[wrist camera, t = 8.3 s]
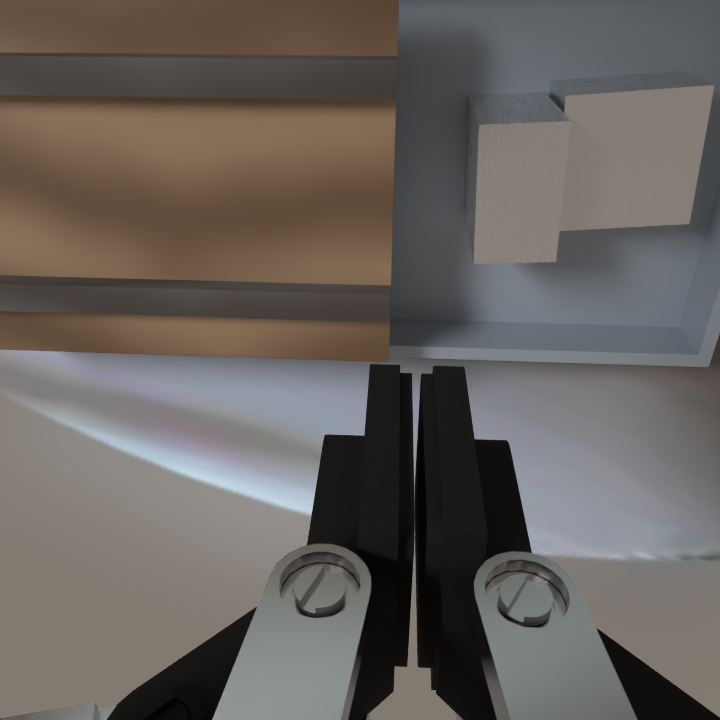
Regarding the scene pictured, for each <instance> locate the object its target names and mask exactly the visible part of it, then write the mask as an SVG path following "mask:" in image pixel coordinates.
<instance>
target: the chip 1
mask: <svg viewBox="0 0 720 720" xmlns="http://www.w3.org/2000/svg"><path fill="white" fill-rule="evenodd" d="M570 128H571V120H570V119H569V118H568V117H567V116H566V115H565V114H564V112H563V111H562V110H561V109H560V108H559V107H558V106H557V105H556V104H555V102H554V101H553V100H552V99H551V98H550V97H549V96H548V95H547V94H546V92H530V93H507V94H484V95H467V128H466V161H465V195H464V220H465V225H466V230H467V235H468V240H469V245H470V249H471V254H472V259H473V264H495V263H536V262H556V258H557V248H558V239H559V230H560V221H561V211H562V202H563V193H564V184H565V175H566V165H567V156H568V147H569V138H570Z"/></svg>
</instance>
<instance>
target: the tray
mask: <svg viewBox="0 0 720 720" xmlns="http://www.w3.org/2000/svg"><path fill="white" fill-rule="evenodd" d="M672 71H686V72H688V73H690V74H693V75H695V76H697V77H699V78H701V79H703V80H705V81H707V82H709V83H712V84H714V85H715V86H714V91H713V97H712V102H711V108H710V113H709V119H708V124H707V130H706V135H705V141H704V146H703V152H702V157H701V163H700V168H699V174H698V179H697V185H696V190H695V196H694V201H693V207H692V212H691V218H690V223H689V224H680V225H662V226H644V227H625V228H607V229H589V230H571V231H559V239H558V248H557V258H556V262H536V263H495V264H473V259H472V254H471V249H470V245H469V240H468V235H467V230H466V225H465V220H464V195H465V161H466V128H467V95H484V94H507V93H530V92H546V94H547V95H548V96H549V91H550V81H552V80H566V79H579V78H592V77H605V76H619V75H632V74H645V73H658V72H672ZM719 334H720V0H399V21H398V57H397V93H396V129H395V165H394V201H393V237H392V273H391V309H390V345H389V357H402V358H434V359H466V360H497V361H529V362H561V363H592V364H624V365H656V366H687V367H709V365H710V362H711V359H712V356H713V352H714V349H715V346H716V343H717V340H718V337H719Z"/></svg>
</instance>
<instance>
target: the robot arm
mask: <svg viewBox="0 0 720 720" xmlns="http://www.w3.org/2000/svg"><path fill="white" fill-rule="evenodd" d="M414 532H415V549H416V550H415V552H416V597H417V598H416V605H417V652H418V653H417V654H418V667H421V668H431V690H436V694H437V695H438V696H439V697H440V698H441V699H442V700H443V701H444V702H445V703H446V704H447V705H449V706H450V707H451V708H452V709H453V710H454V711H455V712H456V713H457V714H456V716H457V720H720V718H719V717H718V716H717V715H715V714H714V713H713V712H711V711H710V710H708V709H707V708H706V707H704V706H703V705H702V704H700V703H699V702H697V701H696V700H695V699H693V698H692V697H690V696H689V695H688V694H686V693H685V692H684V691H682V690H681V689H680V688H678V687H677V686H675V685H674V684H673V683H671V682H670V681H669V680H667V679H666V678H664V677H663V676H662V675H660V674H659V673H658V672H656V671H655V670H653V669H652V668H651V667H649V666H648V665H647V664H645V663H644V662H642V661H641V660H640V659H638V658H637V657H635V656H634V655H632V654H631V653H630V652H629V651H627V650H626V649H624V648H623V647H622V646H620V645H619V644H618V643H616V642H615V641H614V640H612V639H611V638H609V637H608V636H607V635H605V634H604V633H603V632H601V631H600V630H598V629H597V628H596V626H595V624H594V622H593V620H592V618H591V615H590V613H589V611H588V609H587V607H586V604H585V602H584V600H583V598H582V595H581V593H580V591H579V589H578V587H577V585H576V584H575V582H574V581H573V579H572V578H571V576H570V575H569V574H568V573H567V572H566V571H565V570H564V569H563V568H561V567H560V566H559V565H558V564H556V563H554V562H553V561H551V560H549V559H547V558H545V557H543V556H540V555H536V554H533V553H532V551H531V547H530V542H529V537H528V532H527V527H526V522H525V518H524V513H523V508H522V503H521V498H520V493H519V489H518V484H517V479H516V474H515V469H514V465H513V460H512V455H511V450H510V446H509V443H508V442H507V440H477V439H474V432H473V425H472V418H471V411H470V404H469V397H468V389H467V382H466V375H465V369H464V367H453V366H433V372H432V374H421V384H420V402H419V421H418V439H417V457H416V475H415V511H414V458H413V406H412V373H400V365H380V364H370V372H369V385H368V398H367V411H366V424H365V436H354V435H325V437H324V441H323V447H322V453H321V460H320V466H319V473H318V479H317V485H316V492H315V498H314V504H313V511H312V517H311V523H310V530H309V536H308V542H307V546H303V547H300V548H298V549H296V550H294V551H292V552H290V553H288V554H287V555H286V556H284V557H283V558H282V559H281V560H280V561H279V562H278V563H277V564H276V566H275V567H274V569H273V571H272V572H271V574H270V576H269V579H268V581H267V584H266V586H265V588H264V591H263V593H262V596H261V598H260V601H259V604H258V606H257V607H256V608H254V609H253V610H251V611H250V612H248V613H247V614H245V615H244V616H242V617H241V618H239V619H238V620H237V621H235V622H234V623H232V624H231V625H230V626H228V627H227V628H225V629H223V630H222V631H220V632H219V633H217V634H216V635H214V636H213V637H212V638H210V639H209V640H207V641H206V642H204V643H203V644H201V645H200V646H198V647H197V648H195V649H194V650H192V651H191V652H190V653H188V654H187V655H185V656H183V657H182V658H181V659H179V660H178V661H176V662H175V663H173V664H172V665H170V666H169V667H167V668H166V669H164V670H163V671H161V672H160V673H159V674H157V675H155V676H154V677H153V678H151V679H150V680H148V681H147V682H145V683H144V684H142V685H141V686H139V687H138V688H136V689H135V690H133V691H132V692H131V693H130V694H129V695H128V696H126V697H125V698H124V699H123V700H122V701H121V702H119V704H117V706H114V707H108V708H103V709H98V708H97V705H96V703H95V702H93V703H87V704H81V705H76V706H70V707H64V708H59V709H53V710H47V711H41V712H35V713H30V714H24V715H19V716H13V717H7V718H1V719H0V720H370V712H371V711H372V710H373V709H374V708H375V707H376V706H378V705H379V704H380V703H381V702H382V701H383V700H384V699H386V697H388V696H389V695H390V694H391V693H392V692H393V689H394V666H401V667H407V659H408V643H409V626H410V608H411V591H412V573H413V555H414Z"/></svg>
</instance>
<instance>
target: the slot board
mask: <svg viewBox="0 0 720 720" xmlns="http://www.w3.org/2000/svg"><path fill="white" fill-rule="evenodd" d="M398 21H399V0H0V349H2V350H33V351H65V352H96V353H127V354H159V355H190V356H221V357H253V358H284V359H315V360H347V361H378V362H389V345H390V309H391V273H392V237H393V201H394V165H395V129H396V93H397V57H398Z"/></svg>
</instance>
